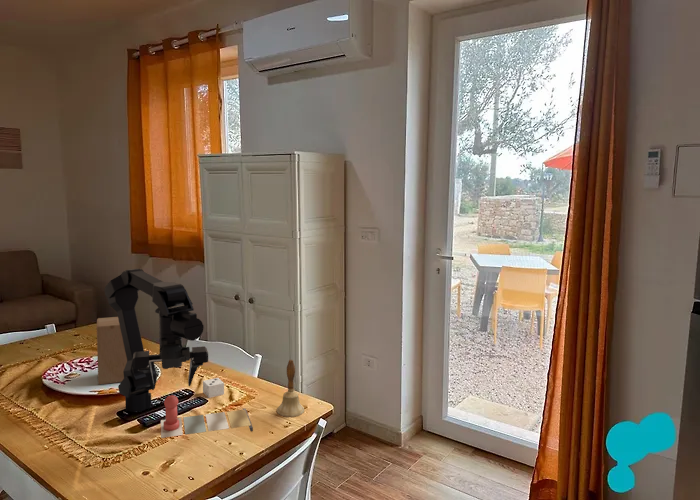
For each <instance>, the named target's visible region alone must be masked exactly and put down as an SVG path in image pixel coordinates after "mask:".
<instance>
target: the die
mask: <svg viewBox="0 0 700 500" xmlns="http://www.w3.org/2000/svg"><path fill="white" fill-rule="evenodd" d="M202 394H204V395H205V396H206V397H207V398H214V397H218V396H223V395H225V383H224V382H223V380H222V379H220V378H219V377H215V378H211V379H205V380H202Z"/></svg>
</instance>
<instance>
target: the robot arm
mask: <svg viewBox="0 0 700 500" xmlns="http://www.w3.org/2000/svg"><path fill="white" fill-rule="evenodd" d="M139 291H141V292H143V293H145V294H147V295H148V296H149V297H151V298H152V300H151V301H152V303H153V304H154V305H155V306H157V308H156V309H155V310H154V312H155V313H156V314H158V317H159V318H158V319H159V321H158V322H159V323H158V325H159V328H158V329H159V349H158V350H159V353H157V354H150V350H145V348H144V344H143V340H142V335H141V334H142V333H141V330H140V325H139V322H138V317H137V312H136V305H137V302H138V301H139ZM104 296H105V298H106V299H107V303H108V305H109V306H110V307H111V308H112V309H113V310H114V311H115V312H116V315H117V317H118V320H119V324H120V329H121V334H122V338H123V343H124V348H125V352H126V357H127V363H126V366H125V368H124V371H123V373H124V379H123V380H122V382H119V384H118V386H117V387H118V393H119V394H120V395H122V396H124V399H125V403H124V404H125V412H130V413H131V412H132V413H139V412H143V411H145V410H149V409H151V408H152V393H151V392H150V391H154V390H155V388H156V386H157V380H158V372H157V370H156V365H155V363H157V362H161V368H162V369H163V370H168V369H173V368H176V369H179V368H182V366H183V363H185V362H188V361H189V370H188V379H187V380H188V381H187V382H188V383H187V384H188V387H191V386H192V383H193V379H194V377H195V374H196V371H197V370H198V368H199V367H201V366H203V365H204V364H205V363H209V352H208V348H207V347H206V346H204V345H203V346H194V347H193V346H192V347H191V350H190V346H183V339H185V340H188V341H192V342H193V341H197V340H198V339H199V338H200V337H201V336H202V334H203V332H204V329H205V327H204V324H203V321H202V320H201V319H199V318H198V316H197V315H198V314H197V312H193V311H194V310H195V308H194V306H193V302H192V300H191V298H190V297H189V294H188V292H187V289H186V287H185V286H184V285H183V284H181V283H177V282H168V281H163V280H160V279H159V278H156V277H155V276H153V275H151V274H149V273H148V272H145V271H144V270H143V269H142V268H132V269H126V270H123V271H122V272H121V273H120V275H118V276H116V277H114V278H113V279H111V280H110V281H109V282H108V283H107V284H106V286H104Z"/></svg>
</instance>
